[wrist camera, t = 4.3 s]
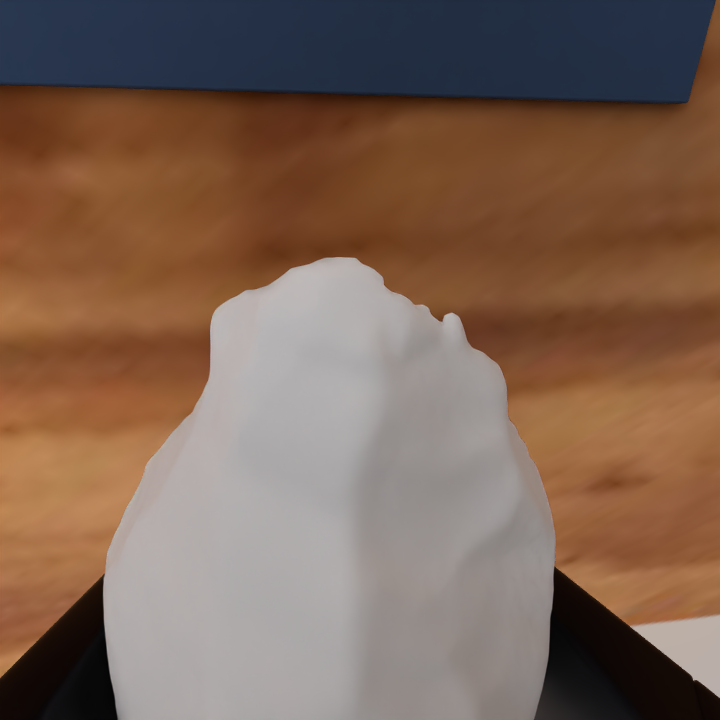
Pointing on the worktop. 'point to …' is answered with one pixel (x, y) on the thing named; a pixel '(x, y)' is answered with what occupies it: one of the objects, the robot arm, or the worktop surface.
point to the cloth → (362, 47)
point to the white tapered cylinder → (335, 524)
